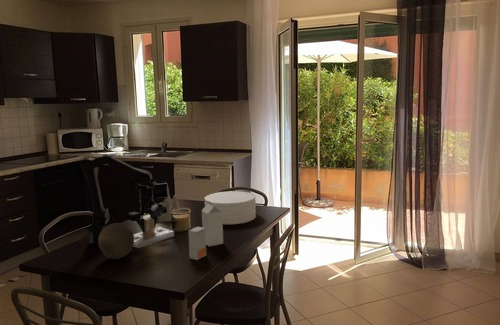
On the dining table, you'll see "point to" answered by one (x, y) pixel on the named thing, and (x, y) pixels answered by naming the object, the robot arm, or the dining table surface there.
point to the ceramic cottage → (168, 208)
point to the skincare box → (197, 243)
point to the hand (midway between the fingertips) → (148, 230)
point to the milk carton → (212, 224)
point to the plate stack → (234, 206)
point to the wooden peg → (149, 227)
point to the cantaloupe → (116, 240)
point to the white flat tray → (152, 237)
